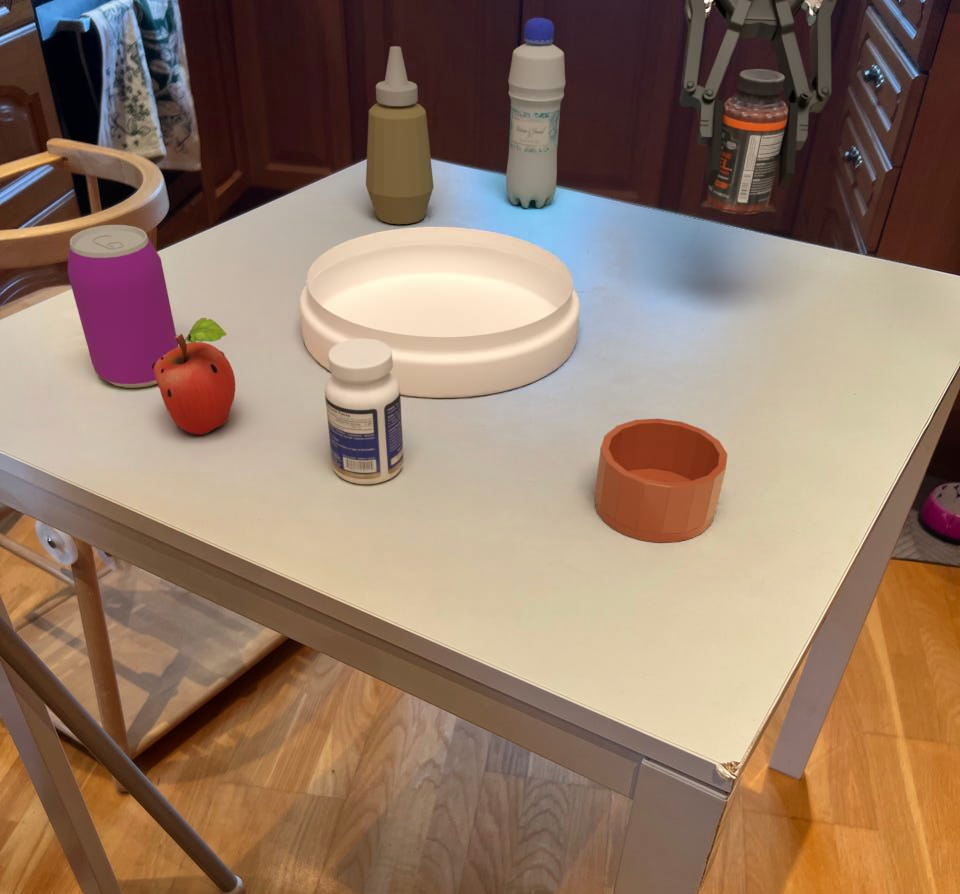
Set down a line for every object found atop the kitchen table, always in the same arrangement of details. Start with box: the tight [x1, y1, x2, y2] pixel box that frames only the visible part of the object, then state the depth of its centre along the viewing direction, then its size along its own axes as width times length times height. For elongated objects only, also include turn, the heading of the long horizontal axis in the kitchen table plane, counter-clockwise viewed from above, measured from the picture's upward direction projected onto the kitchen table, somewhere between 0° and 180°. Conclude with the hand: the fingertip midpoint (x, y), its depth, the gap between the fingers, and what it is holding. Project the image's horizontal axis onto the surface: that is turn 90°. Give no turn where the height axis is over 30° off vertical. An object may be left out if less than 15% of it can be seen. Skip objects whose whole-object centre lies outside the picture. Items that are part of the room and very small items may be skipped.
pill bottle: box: [324, 338, 404, 485], centre depth 75 cm, size 6×6×10 cm
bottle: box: [505, 17, 567, 209], centre depth 116 cm, size 7×7×20 cm
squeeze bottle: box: [365, 45, 435, 225], centre depth 112 cm, size 8×8×18 cm
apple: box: [152, 317, 236, 436], centre depth 78 cm, size 8×7×10 cm
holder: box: [594, 418, 728, 544], centre depth 73 cm, size 9×9×5 cm
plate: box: [299, 226, 581, 399], centre depth 94 cm, size 27×27×6 cm
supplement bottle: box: [706, 68, 788, 216], centre depth 90 cm, size 6×6×11 cm
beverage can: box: [67, 224, 179, 389], centre depth 84 cm, size 8×8×12 cm
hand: (749, 179), depth 89 cm, fingers closed on supplement bottle, 6 cm apart
